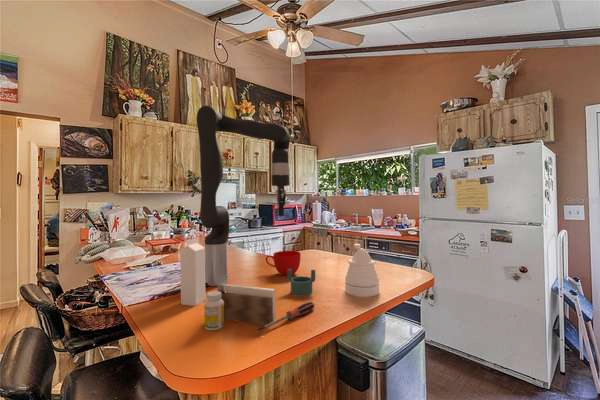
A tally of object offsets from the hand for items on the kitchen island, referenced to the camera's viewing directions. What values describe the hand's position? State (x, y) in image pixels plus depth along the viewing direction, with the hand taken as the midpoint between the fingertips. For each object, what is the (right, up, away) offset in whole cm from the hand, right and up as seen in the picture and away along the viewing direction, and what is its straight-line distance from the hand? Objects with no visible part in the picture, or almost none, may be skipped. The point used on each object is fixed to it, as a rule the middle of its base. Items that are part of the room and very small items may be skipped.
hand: (280, 215), depth 122 cm
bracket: (+9, -29, -9) cm, 32 cm away
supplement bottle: (-16, -30, -39) cm, 51 cm away
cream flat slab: (-9, -29, -33) cm, 45 cm away
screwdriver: (+4, -30, -35) cm, 46 cm away
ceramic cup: (0, -29, +17) cm, 34 cm away
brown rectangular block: (-9, -29, -33) cm, 45 cm away
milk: (-30, -30, -19) cm, 46 cm away
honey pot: (+32, -29, -9) cm, 44 cm away
